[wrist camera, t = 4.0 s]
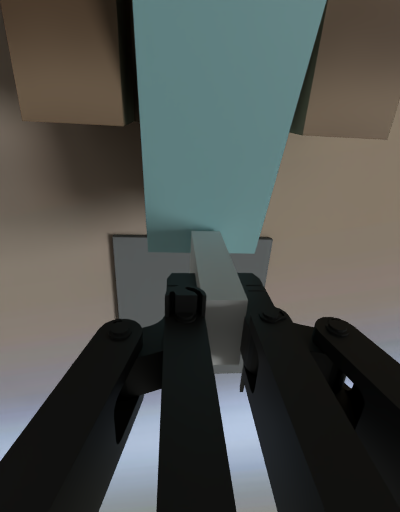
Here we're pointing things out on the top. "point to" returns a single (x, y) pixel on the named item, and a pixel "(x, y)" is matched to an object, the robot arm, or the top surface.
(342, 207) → the top surface
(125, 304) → the mat
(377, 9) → the block
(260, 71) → the slab
